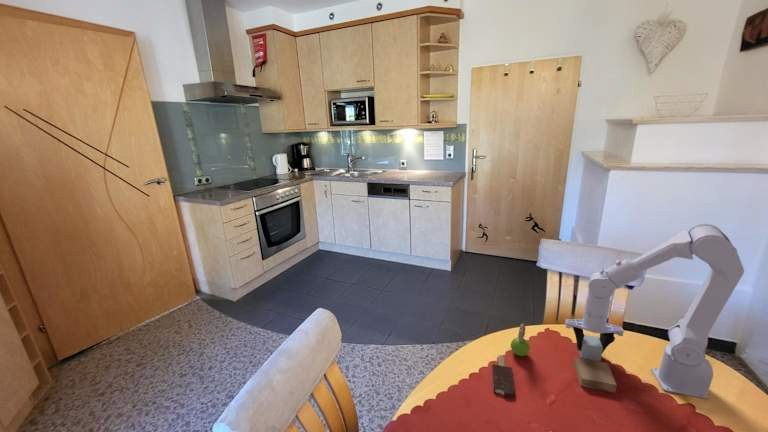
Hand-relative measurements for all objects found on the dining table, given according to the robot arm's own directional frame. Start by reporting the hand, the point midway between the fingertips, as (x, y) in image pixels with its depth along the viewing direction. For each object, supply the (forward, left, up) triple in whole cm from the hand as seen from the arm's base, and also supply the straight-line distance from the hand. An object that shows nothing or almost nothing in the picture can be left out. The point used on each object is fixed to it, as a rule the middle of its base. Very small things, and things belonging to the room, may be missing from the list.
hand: (589, 350), depth 98 cm
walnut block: (+1, +10, -2) cm, 10 cm away
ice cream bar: (+25, +16, -2) cm, 30 cm away
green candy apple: (+20, +6, -2) cm, 21 cm away
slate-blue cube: (0, 0, -1) cm, 1 cm away
